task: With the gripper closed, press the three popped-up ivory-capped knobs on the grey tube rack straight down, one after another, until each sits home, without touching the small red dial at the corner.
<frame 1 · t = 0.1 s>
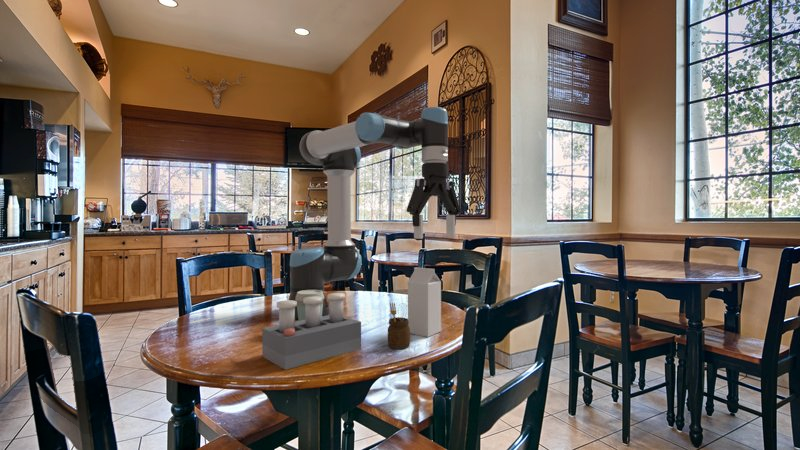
hand: (435, 237, 114), 28 cm above the table, tool pointing down, fingers open, 13 cm apart
knob middle: (312, 312, 100), point 10 cm above the table, slide at 3.5 cm
knob near: (286, 316, 96), point 10 cm above the table, slide at 3.5 cm
utensil holder: (398, 346, 105), on the table
milk carton: (424, 333, 118), on the table
knob far: (336, 307, 105), point 10 cm above the table, slide at 3.5 cm
coffee cup: (310, 332, 119), on the table
grey tube rack: (313, 352, 101), on the table
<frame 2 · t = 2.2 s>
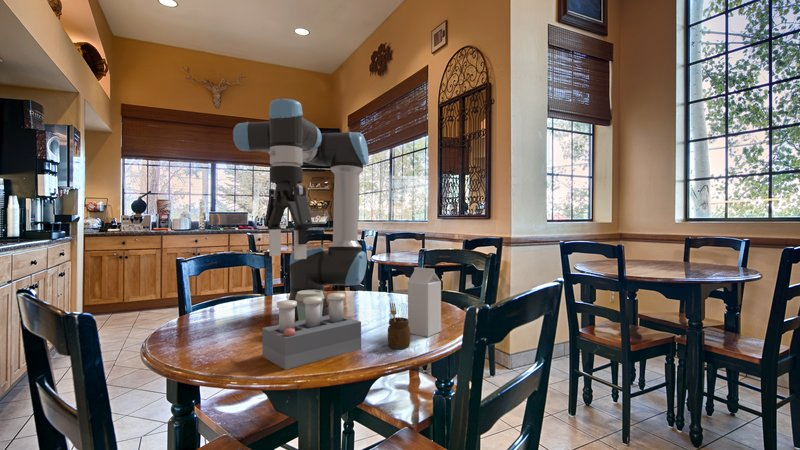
hand: (287, 257, 96), 24 cm above the table, tool pointing down, fingers open, 12 cm apart
nothing on the table moved.
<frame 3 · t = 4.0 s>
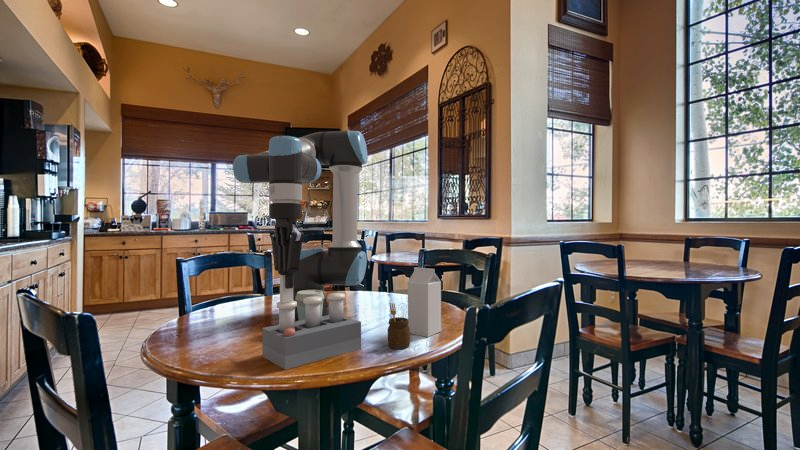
hand: (286, 301, 96), 14 cm above the table, tool pointing down, fingers closed
knob near: (286, 317, 96), point 10 cm above the table, slide at 3.4 cm, touching gripper
everything else where it was.
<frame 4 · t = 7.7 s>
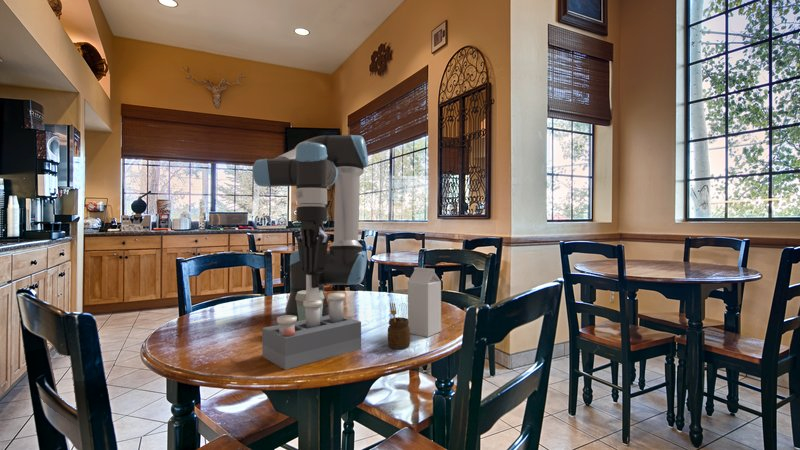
hand: (312, 300, 100), 13 cm above the table, tool pointing down, fingers closed
knob middle: (312, 315, 100), point 9 cm above the table, slide at 2.7 cm, touching gripper
knob near: (287, 331, 96), point 7 cm above the table, slide at -0.1 cm
everything else where it was.
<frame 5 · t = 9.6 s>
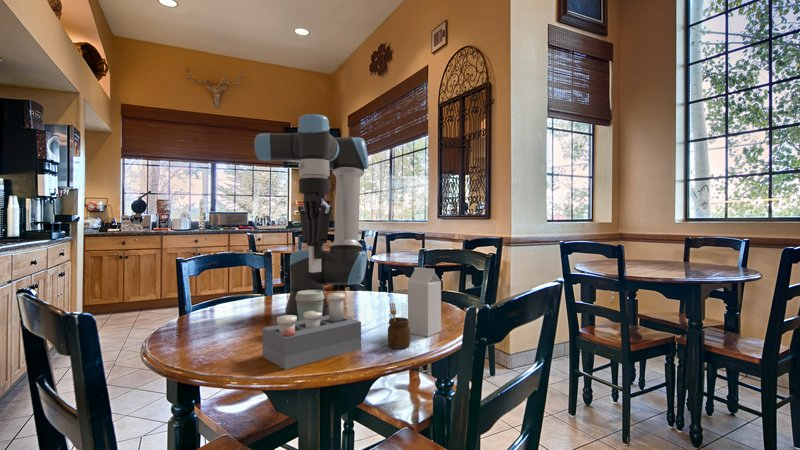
hand: (315, 271, 101), 20 cm above the table, tool pointing down, fingers closed
knob middle: (313, 326, 100), point 7 cm above the table, slide at -0.1 cm
everything else where it was.
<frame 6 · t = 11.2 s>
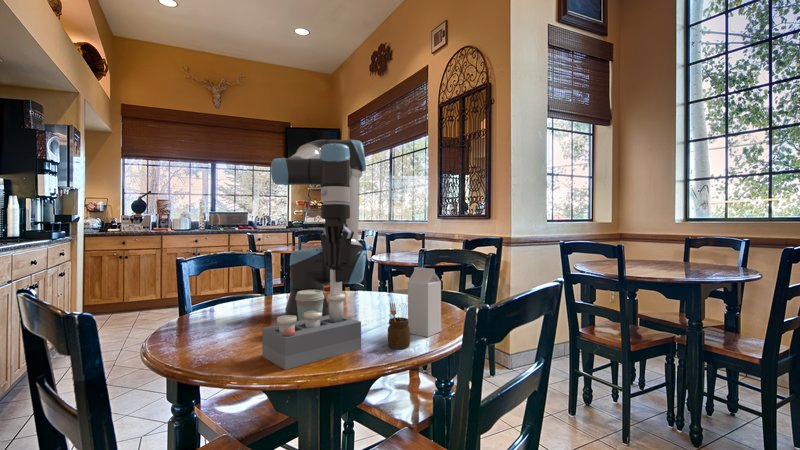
hand: (336, 294, 105), 14 cm above the table, tool pointing down, fingers closed
knob far: (336, 308, 105), point 10 cm above the table, slide at 3.4 cm, touching gripper
everything else where it was.
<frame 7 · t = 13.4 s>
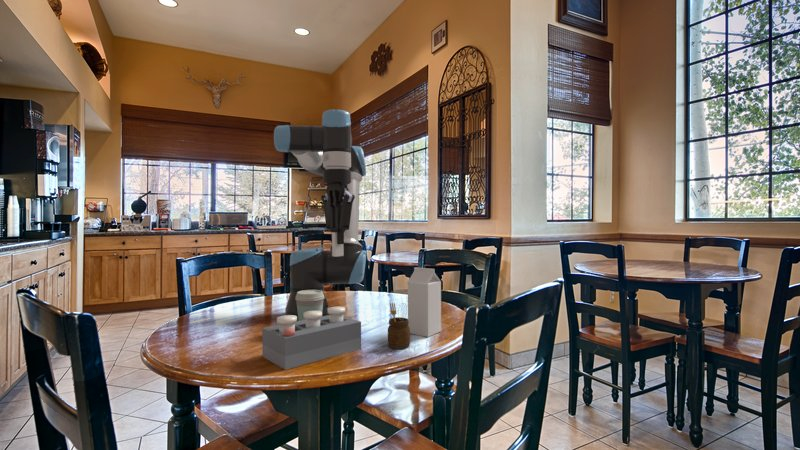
hand: (337, 255, 109), 23 cm above the table, tool pointing down, fingers closed
knob far: (336, 321, 105), point 7 cm above the table, slide at -0.1 cm
everything else where it was.
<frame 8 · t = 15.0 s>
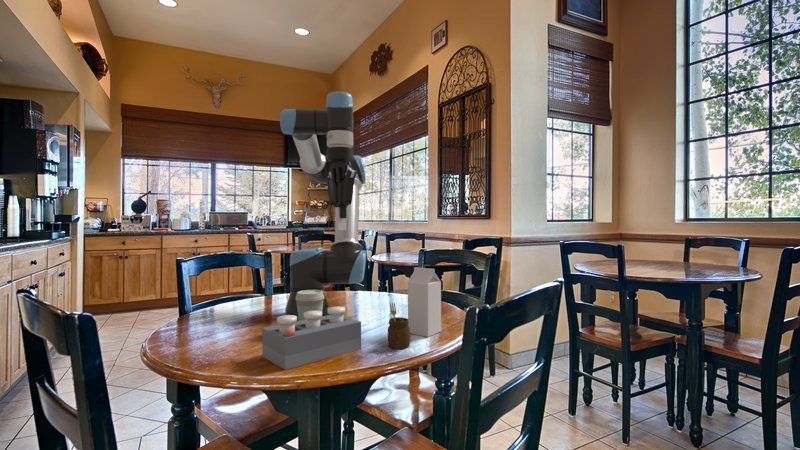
hand: (340, 229, 116), 30 cm above the table, tool pointing down, fingers closed
nothing on the table moved.
at the end: knob near slide at -0.1 cm; knob middle slide at -0.1 cm; knob far slide at -0.1 cm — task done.
